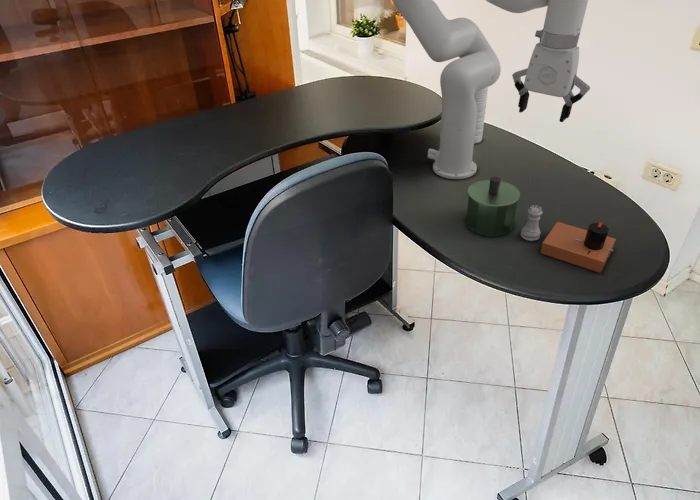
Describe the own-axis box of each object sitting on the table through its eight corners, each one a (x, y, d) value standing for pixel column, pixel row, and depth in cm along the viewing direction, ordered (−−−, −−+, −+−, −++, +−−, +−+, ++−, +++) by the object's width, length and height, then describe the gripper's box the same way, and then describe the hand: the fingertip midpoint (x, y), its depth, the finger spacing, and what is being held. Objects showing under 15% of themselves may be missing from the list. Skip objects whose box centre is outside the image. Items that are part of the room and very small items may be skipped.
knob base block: (540, 253, 114) (542, 242, 112) (554, 231, 120) (557, 220, 118) (603, 274, 107) (607, 262, 105) (615, 250, 114) (619, 239, 112)
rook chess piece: (543, 240, 118) (549, 211, 113) (525, 243, 117) (531, 214, 112) (534, 230, 121) (540, 201, 116) (517, 232, 121) (522, 204, 116)
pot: (458, 227, 124) (461, 197, 118) (477, 207, 131) (481, 178, 125) (501, 242, 118) (506, 211, 113) (519, 219, 125) (525, 190, 120)
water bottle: (469, 145, 159) (478, 65, 144) (457, 138, 164) (464, 60, 149) (491, 139, 162) (502, 60, 147) (478, 132, 167) (487, 55, 152)
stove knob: (600, 252, 108) (606, 234, 106) (581, 246, 110) (586, 228, 107) (605, 242, 111) (611, 224, 108) (586, 237, 113) (591, 219, 110)
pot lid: (458, 200, 119) (460, 183, 116) (480, 179, 126) (482, 162, 124) (507, 215, 113) (510, 197, 110) (527, 192, 120) (530, 174, 118)
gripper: (513, 37, 110) (501, 112, 120) (595, 50, 101) (574, 129, 112) (527, 29, 114) (513, 102, 125) (606, 41, 106) (584, 118, 117)
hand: (542, 115), depth 118 cm, fingers open, 9 cm apart
